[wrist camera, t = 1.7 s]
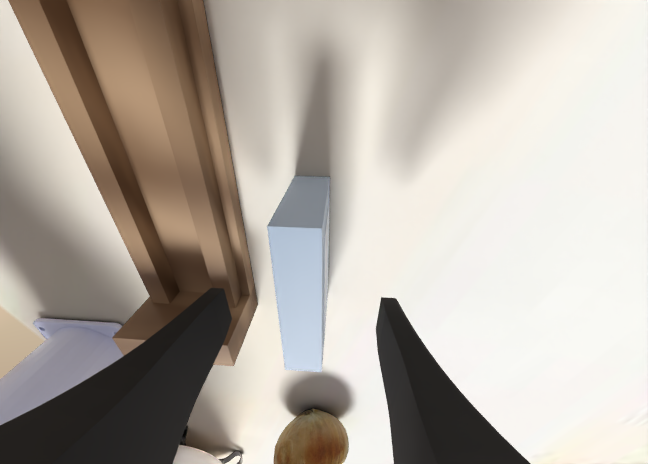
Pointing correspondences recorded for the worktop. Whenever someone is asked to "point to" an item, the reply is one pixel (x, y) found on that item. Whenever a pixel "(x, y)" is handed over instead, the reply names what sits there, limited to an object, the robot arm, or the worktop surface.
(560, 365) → the worktop surface
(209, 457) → the coffee press
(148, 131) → the door track
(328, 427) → the onion
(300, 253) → the light blue flat block
